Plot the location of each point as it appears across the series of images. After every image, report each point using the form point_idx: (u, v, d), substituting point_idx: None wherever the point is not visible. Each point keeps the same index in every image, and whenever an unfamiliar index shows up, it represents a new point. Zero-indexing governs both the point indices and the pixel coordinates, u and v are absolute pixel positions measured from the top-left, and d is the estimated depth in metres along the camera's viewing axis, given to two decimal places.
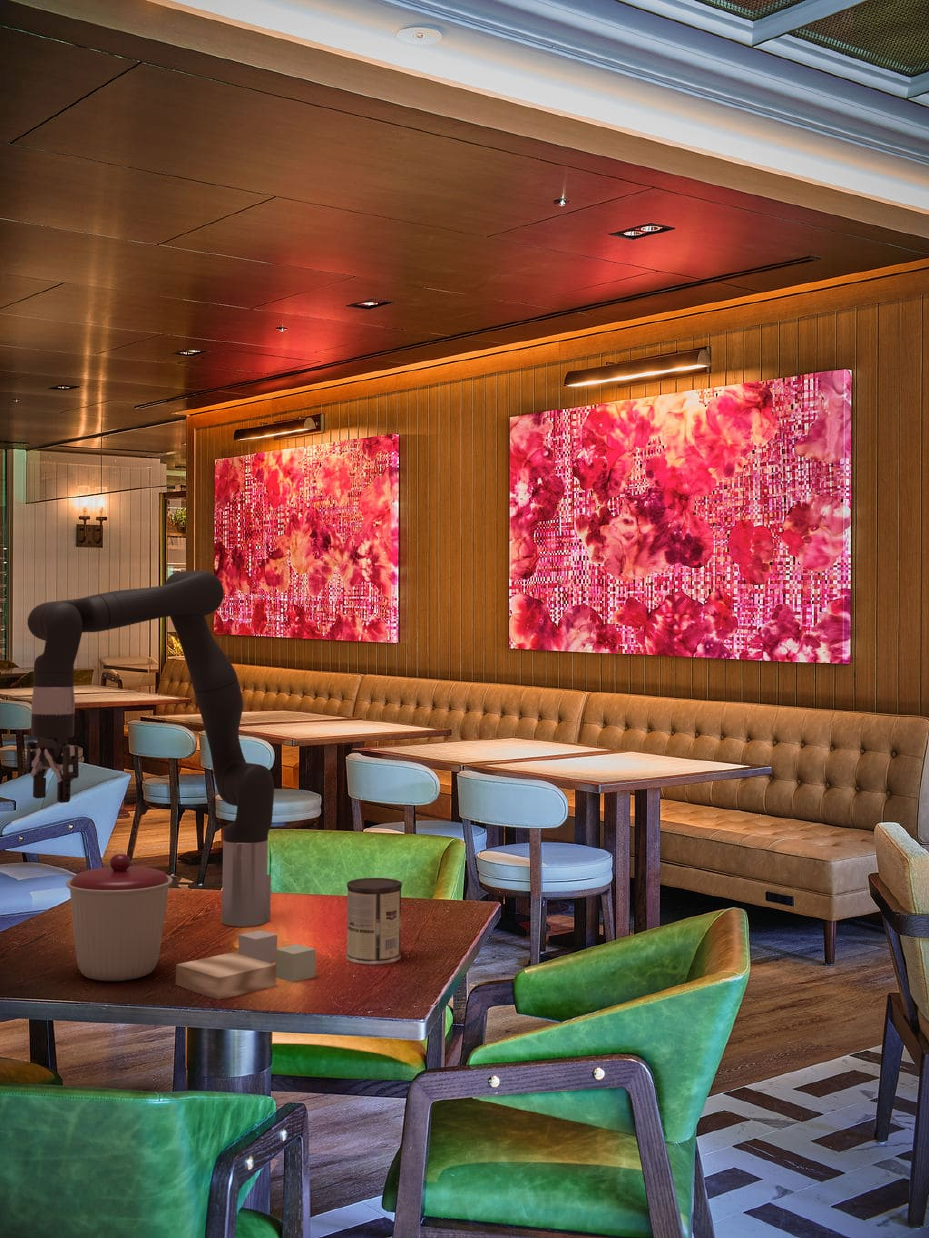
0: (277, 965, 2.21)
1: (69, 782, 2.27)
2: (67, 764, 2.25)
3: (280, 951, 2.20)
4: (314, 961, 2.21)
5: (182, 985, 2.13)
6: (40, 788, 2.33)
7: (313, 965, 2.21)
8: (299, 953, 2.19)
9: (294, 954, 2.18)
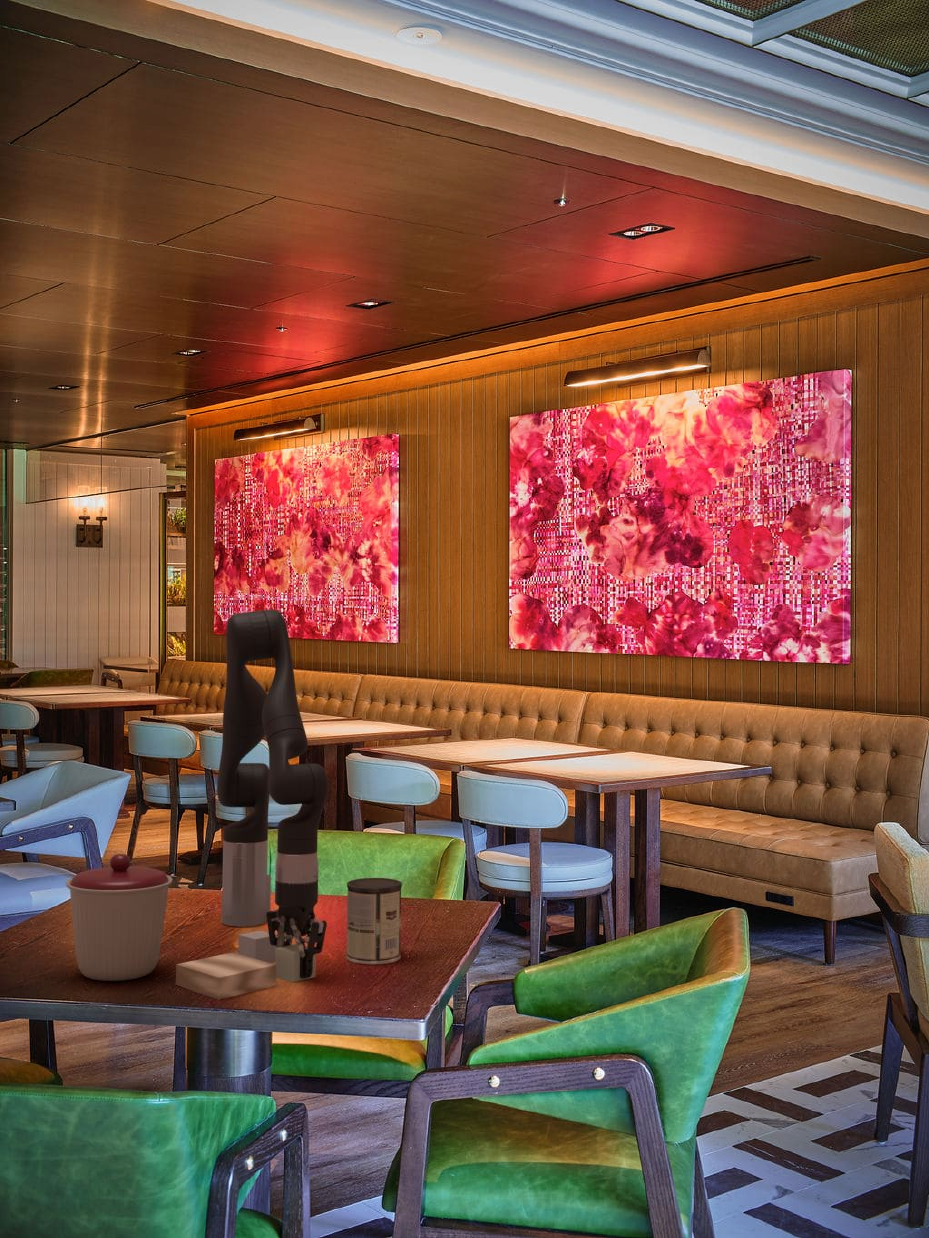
0: (277, 964, 2.21)
1: (311, 957, 2.19)
2: (314, 942, 2.17)
3: (280, 950, 2.20)
4: (314, 960, 2.21)
5: (182, 985, 2.13)
6: None
7: (313, 964, 2.21)
8: (299, 952, 2.19)
9: (294, 953, 2.18)
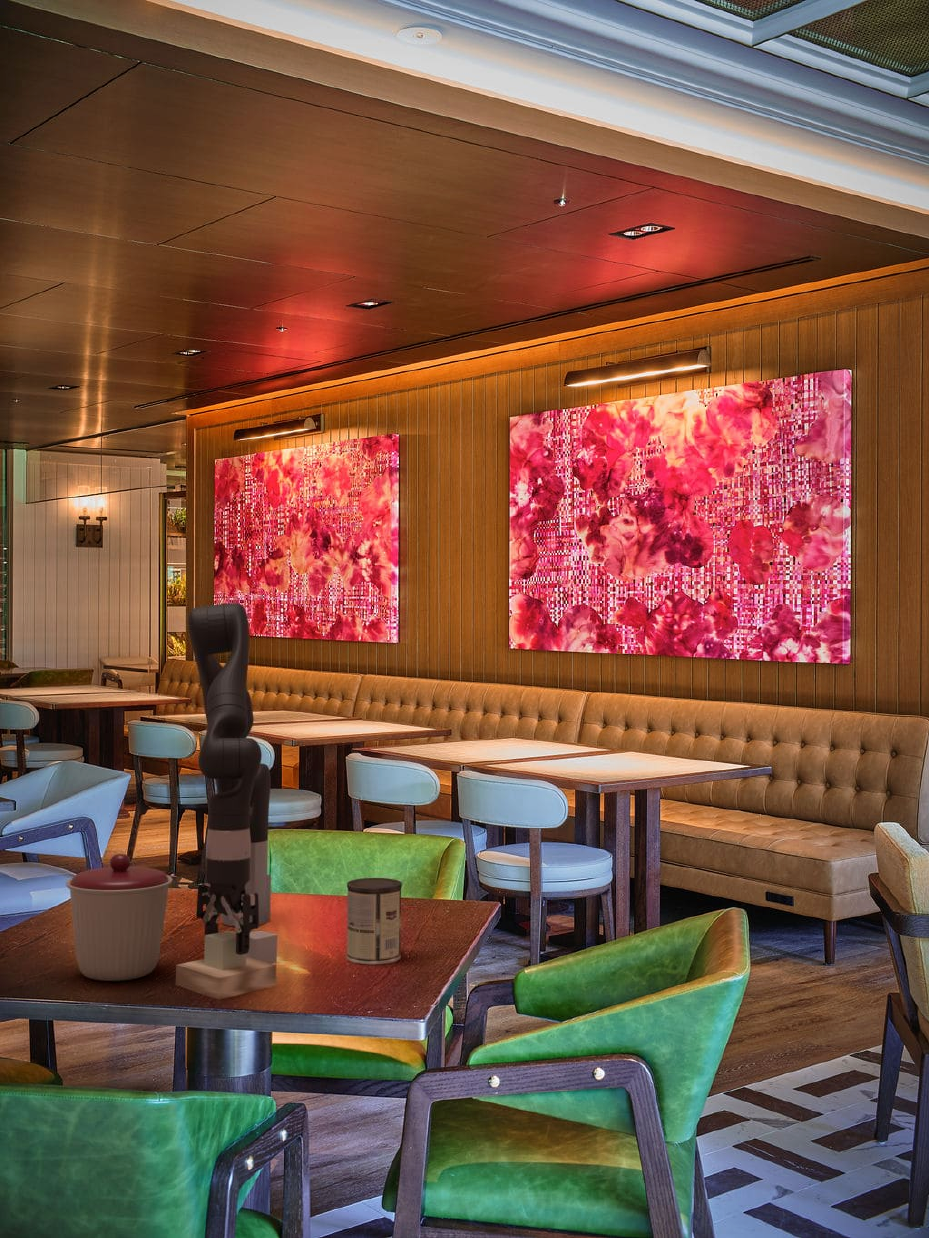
0: (206, 952, 2.15)
1: (248, 932, 2.12)
2: (248, 915, 2.10)
3: (209, 938, 2.14)
4: None
5: (182, 985, 2.13)
6: None
7: None
8: (229, 939, 2.13)
9: (223, 940, 2.12)
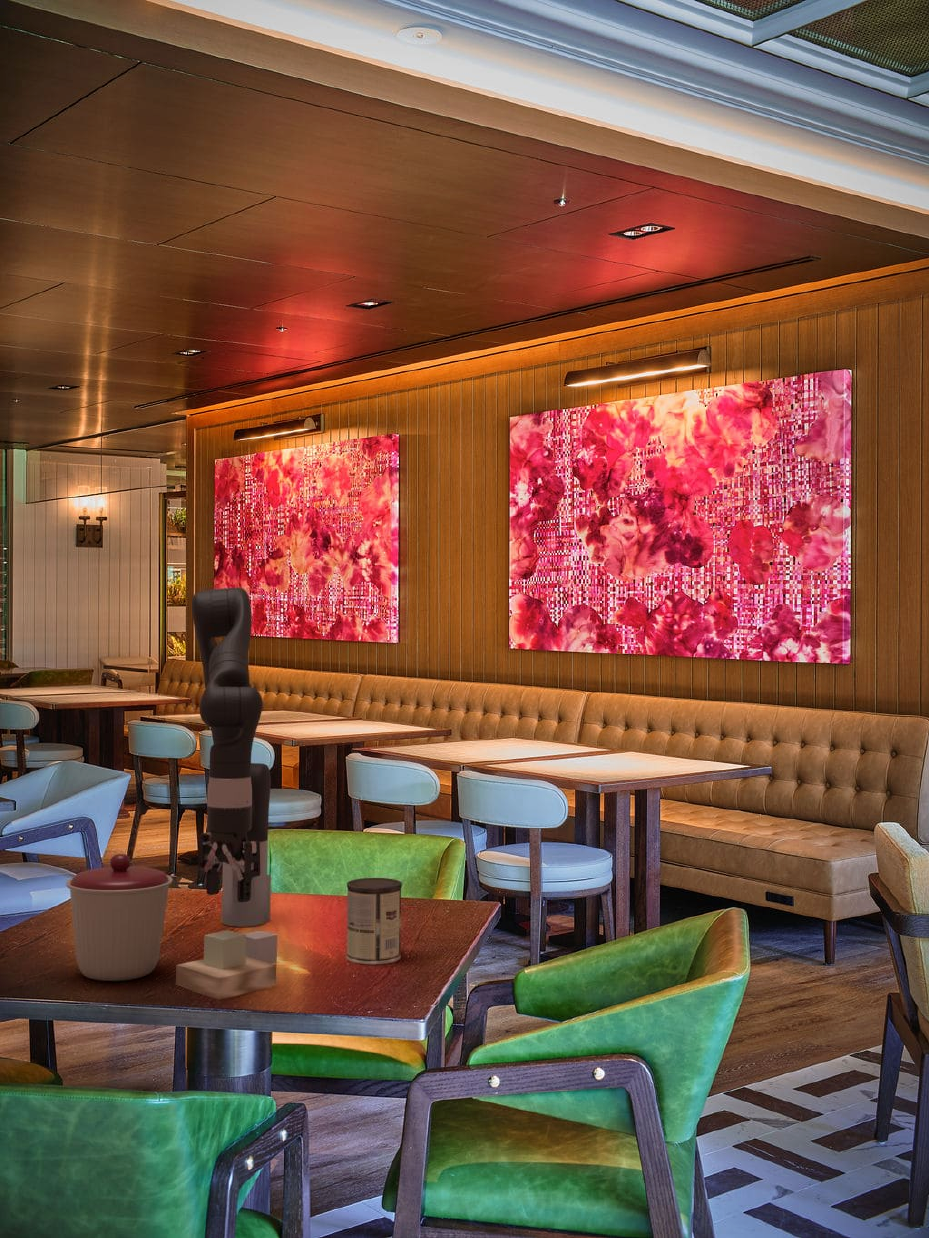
0: (206, 952, 2.15)
1: (250, 880, 2.12)
2: (249, 862, 2.10)
3: (209, 937, 2.14)
4: (245, 947, 2.16)
5: (182, 985, 2.13)
6: (214, 884, 2.18)
7: (243, 951, 2.15)
8: (229, 939, 2.13)
9: (224, 940, 2.12)
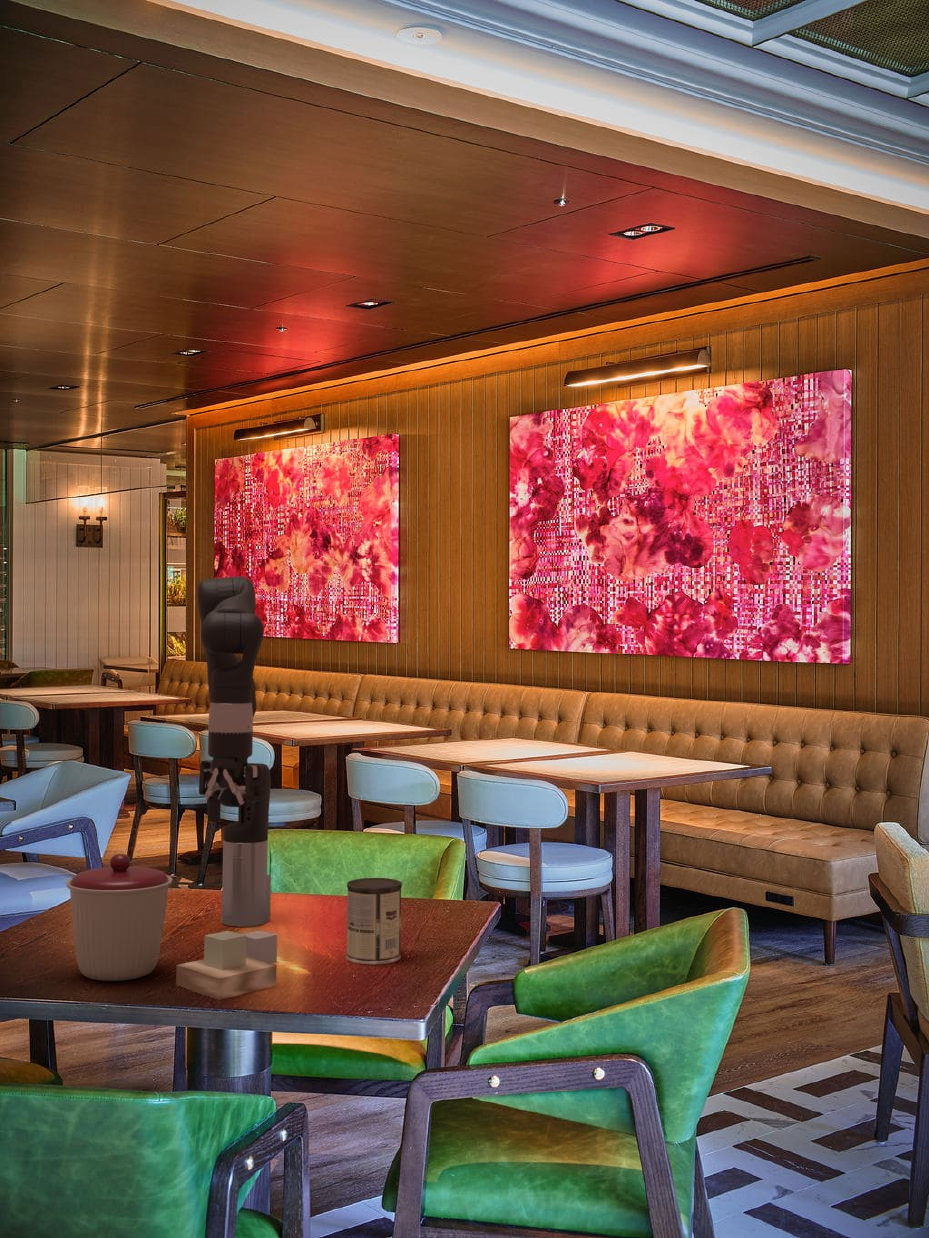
0: (206, 952, 2.15)
1: (251, 805, 2.12)
2: (250, 786, 2.10)
3: (209, 938, 2.14)
4: (245, 947, 2.15)
5: (182, 986, 2.13)
6: (215, 811, 2.18)
7: (243, 952, 2.15)
8: (228, 939, 2.13)
9: (223, 940, 2.12)
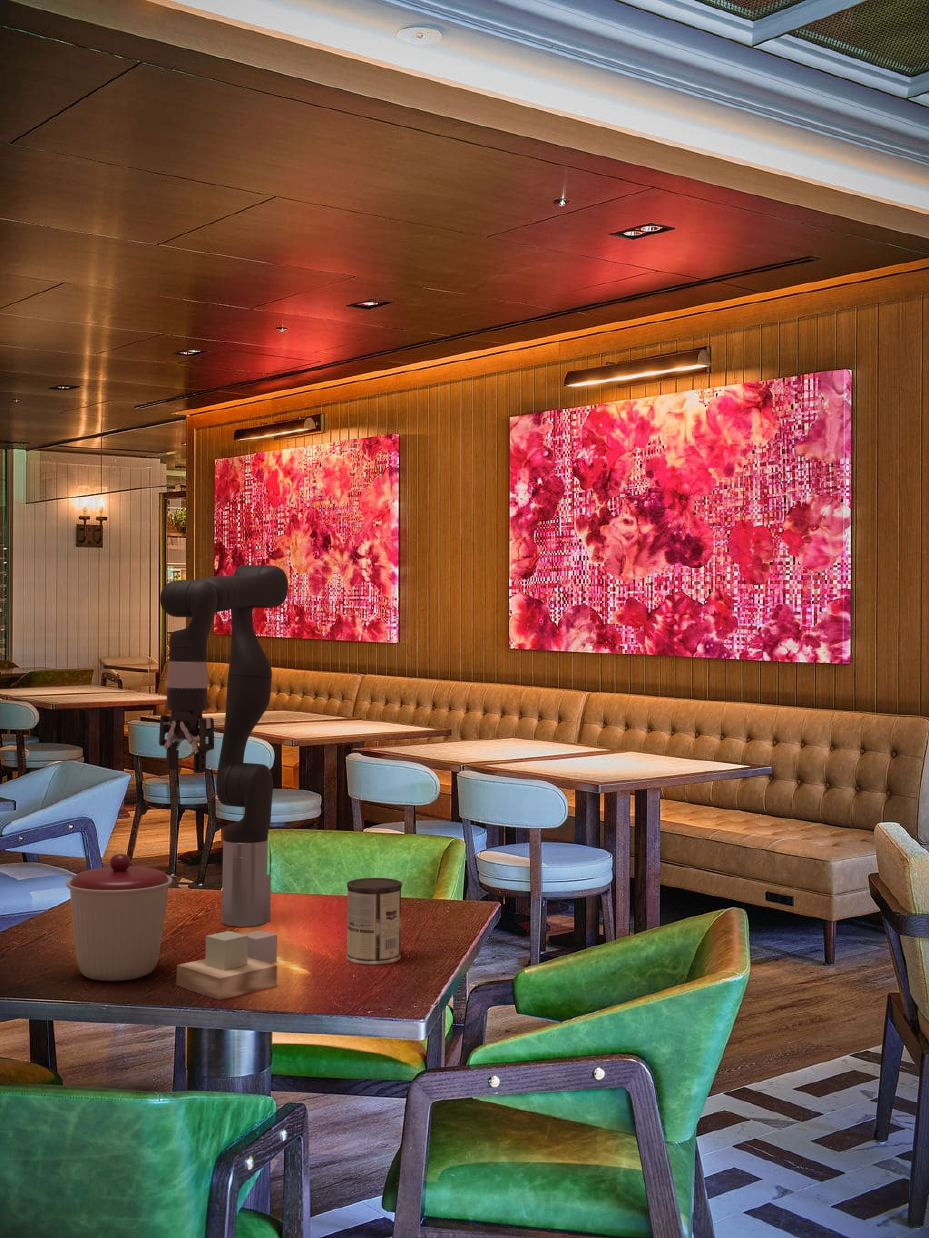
0: (207, 952, 2.14)
1: (205, 753, 2.34)
2: (204, 736, 2.32)
3: (211, 938, 2.14)
4: (246, 947, 2.15)
5: (183, 986, 2.13)
6: (173, 760, 2.40)
7: (245, 952, 2.15)
8: (230, 940, 2.13)
9: (225, 941, 2.12)
